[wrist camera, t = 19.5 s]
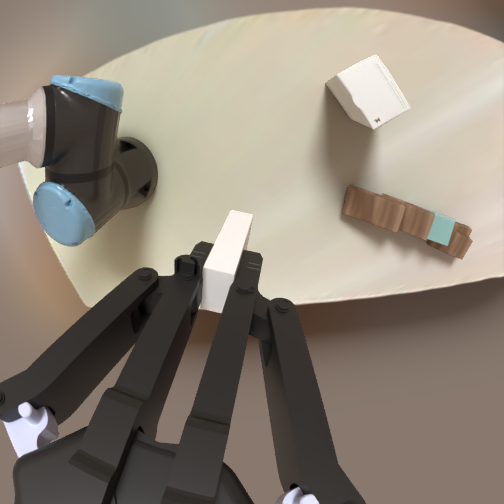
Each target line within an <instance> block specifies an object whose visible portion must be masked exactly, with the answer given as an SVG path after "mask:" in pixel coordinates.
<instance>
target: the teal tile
mask: <svg viewBox="0 0 504 504" xmlns="http://www.w3.org/2000/svg"><path fill="white" fill-rule="evenodd" d="M425 210H427V209H425ZM428 211H430V210H428ZM430 212H433V211H430ZM433 213H435V212H433ZM454 224H455V221H454V219H453V218H450V217H447V216H444V215H441V214H438V213H435V218H434V221H433V224H432V227H431V229H430V232H429V235H428V237H427V239H429V240H432V241H435V242H438V243H440V244H443V245H446V246H448V243H449V240H450V237H451V234H452V231H453V227H454Z"/></svg>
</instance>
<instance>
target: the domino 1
mask: <svg viewBox="0 0 504 504" xmlns="http://www.w3.org/2000/svg"><path fill="white" fill-rule="evenodd" d="M404 211H405V204H403V203H400V202H398V201H395V200H392V199H389V198H387V197H384V196H381V195H378V194H375V193H372V192H370V191H367V190H364V189H361V188H358V187H354V186H351V185H350V186H349V187H348V190H347V194H346V198H345V202H344V206H343V210H342V213H343V214H346V215H349V216H352V217H355V218H358V219H361V220H363V221H366V222H369V223H372V224H374V225H377V226H380V227H383V228H385V229H388V230H390V231H393V232H396V233H397V231H398V229H399V226H400V223H401V220H402V217H403V214H404Z"/></svg>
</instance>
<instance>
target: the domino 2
mask: <svg viewBox="0 0 504 504" xmlns="http://www.w3.org/2000/svg"><path fill="white" fill-rule="evenodd" d="M381 196H384V197H387V198H389V199H392V200H395V201H398V202H400V203H403V204H405V211H404V214H403V217H402V220H401V223H400V226H399V229H398V230H401V231H403V232H406V233H408V234H411V235H413V236H416V237H418V238H421V239H423V240H425V241H426V240H427V237H428V235H429V232H430V229H431V227H432V224H433V221H434V218H435V213H433V212H430V211H428V210H425V209H423V208H420V207H418V206H415V205H413V204H410V203H408V202H405V201H402V200H400V199H397V198H394V197H391V196H389V195H386V194H382V195H381Z"/></svg>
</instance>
